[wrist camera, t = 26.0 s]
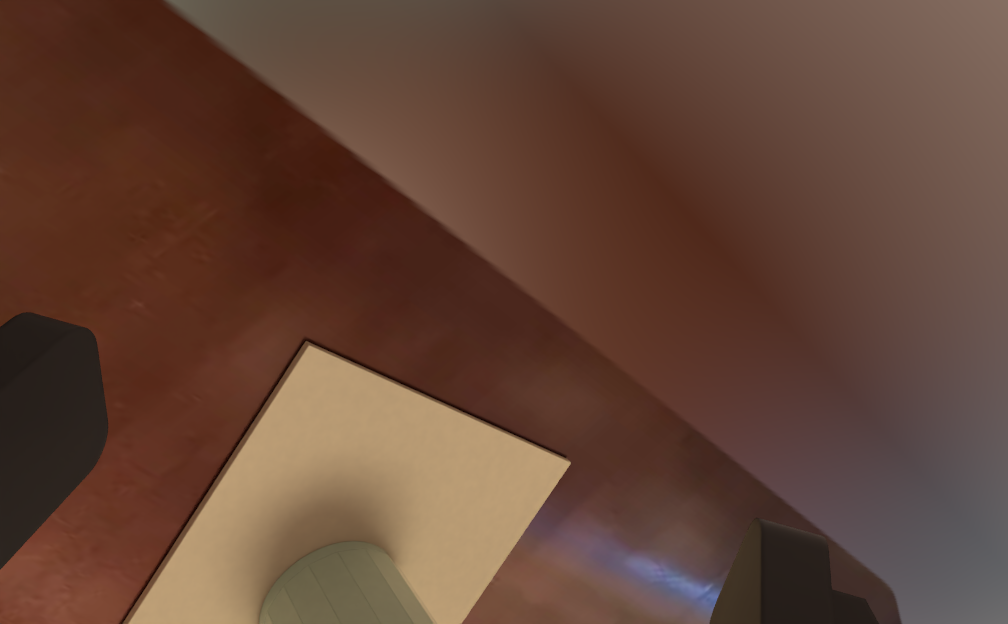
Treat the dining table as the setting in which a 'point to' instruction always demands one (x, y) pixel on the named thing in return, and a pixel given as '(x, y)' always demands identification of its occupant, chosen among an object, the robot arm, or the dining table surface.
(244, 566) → the felt mat
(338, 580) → the pen cup
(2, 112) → the dining table surface
